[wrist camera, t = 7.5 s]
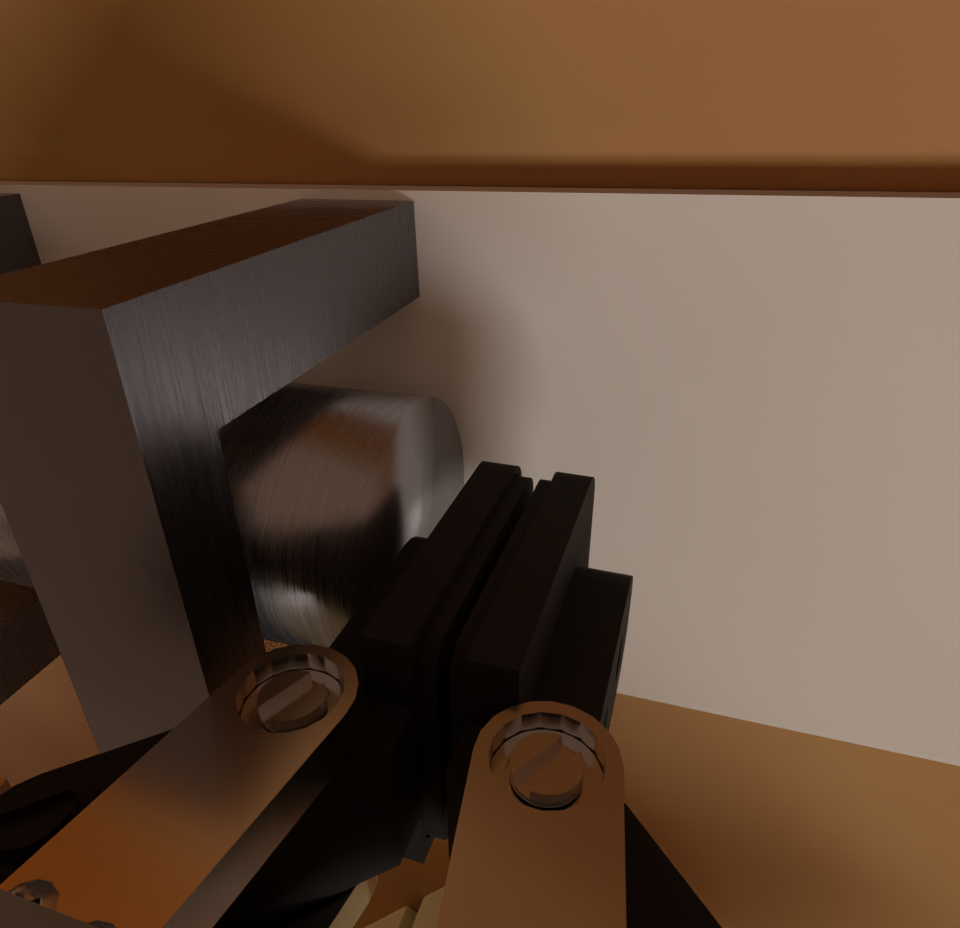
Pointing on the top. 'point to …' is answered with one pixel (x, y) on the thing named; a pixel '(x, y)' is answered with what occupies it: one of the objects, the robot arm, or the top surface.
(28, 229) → the dark angular blocks
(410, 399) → the tube
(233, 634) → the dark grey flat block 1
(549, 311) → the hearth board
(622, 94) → the top surface
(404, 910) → the slatted curved stool
